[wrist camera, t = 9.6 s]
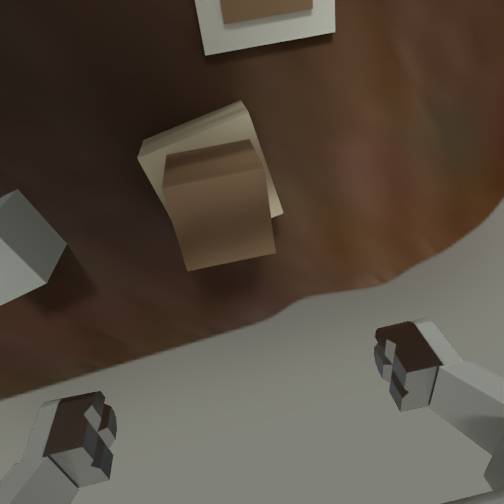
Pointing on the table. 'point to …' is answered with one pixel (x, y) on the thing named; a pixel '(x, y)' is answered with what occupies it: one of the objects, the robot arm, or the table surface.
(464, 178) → the table surface
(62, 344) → the table surface
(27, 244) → the grey cube
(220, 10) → the swatch
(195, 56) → the table surface
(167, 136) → the oak base block
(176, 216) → the walnut cube
